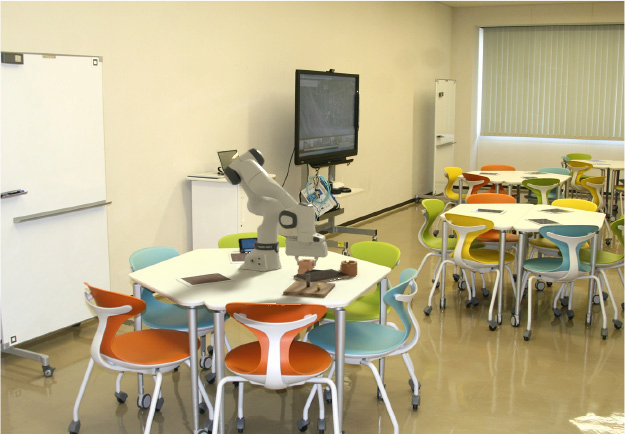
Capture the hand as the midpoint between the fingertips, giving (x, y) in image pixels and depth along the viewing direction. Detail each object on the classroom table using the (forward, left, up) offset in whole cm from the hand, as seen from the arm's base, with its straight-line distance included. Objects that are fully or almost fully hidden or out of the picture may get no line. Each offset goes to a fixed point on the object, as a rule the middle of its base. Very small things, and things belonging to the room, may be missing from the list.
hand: (306, 265), depth 335 cm
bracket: (+12, +38, -12) cm, 42 cm away
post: (+1, +1, -11) cm, 11 cm away
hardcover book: (+1, +23, -13) cm, 27 cm away
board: (+2, 0, -12) cm, 12 cm away
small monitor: (-59, +77, -13) cm, 98 cm away
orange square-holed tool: (0, -3, -2) cm, 4 cm away
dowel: (+7, -4, -10) cm, 13 cm away
